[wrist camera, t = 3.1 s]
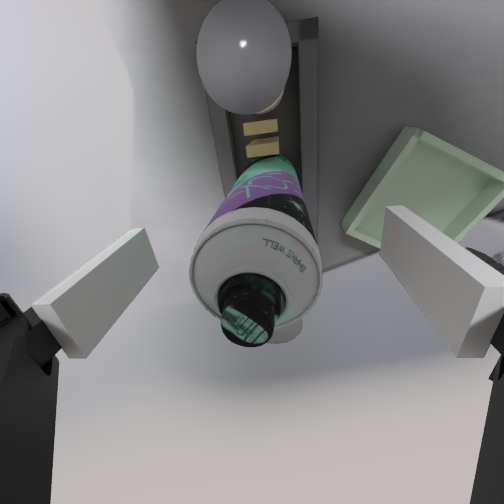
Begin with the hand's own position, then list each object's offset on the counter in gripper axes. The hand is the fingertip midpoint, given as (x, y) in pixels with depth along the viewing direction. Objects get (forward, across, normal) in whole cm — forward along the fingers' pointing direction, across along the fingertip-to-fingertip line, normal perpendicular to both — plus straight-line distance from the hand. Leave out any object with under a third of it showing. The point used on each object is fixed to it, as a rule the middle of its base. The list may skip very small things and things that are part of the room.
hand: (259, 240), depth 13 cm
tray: (+13, +14, -3) cm, 20 cm away
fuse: (+13, 0, +8) cm, 16 cm away
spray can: (+13, 0, 0) cm, 13 cm away
